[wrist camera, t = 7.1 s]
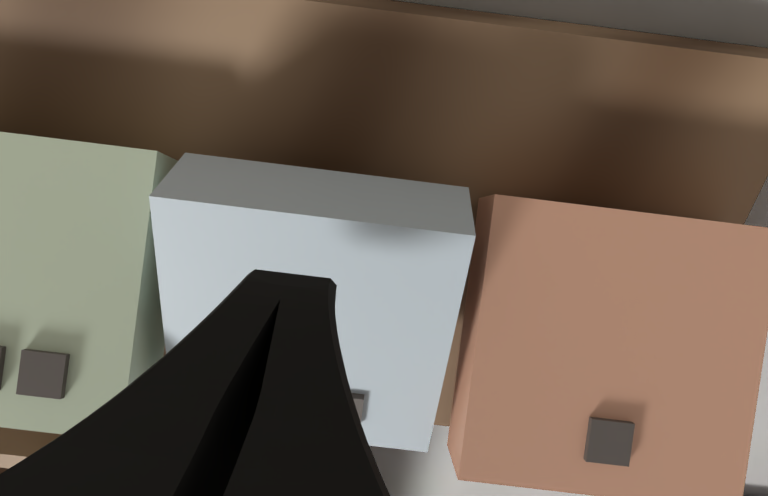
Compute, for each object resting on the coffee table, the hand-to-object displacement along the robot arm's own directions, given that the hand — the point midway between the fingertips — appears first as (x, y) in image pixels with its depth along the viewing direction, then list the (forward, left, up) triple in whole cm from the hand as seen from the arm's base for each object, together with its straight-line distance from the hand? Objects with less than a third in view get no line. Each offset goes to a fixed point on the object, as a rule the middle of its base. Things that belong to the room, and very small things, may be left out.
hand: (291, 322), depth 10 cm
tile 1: (-7, +2, -3) cm, 7 cm away
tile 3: (+6, +2, -3) cm, 7 cm away
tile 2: (0, +2, -3) cm, 4 cm away
